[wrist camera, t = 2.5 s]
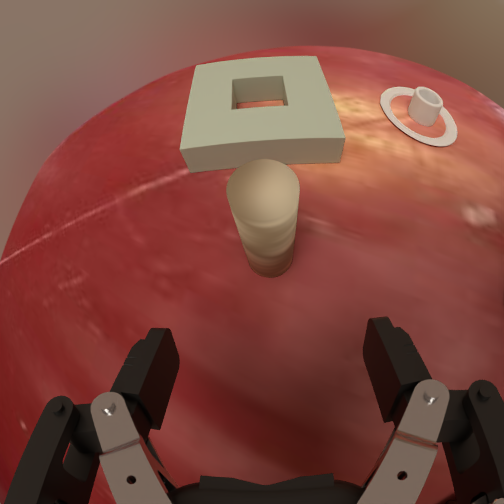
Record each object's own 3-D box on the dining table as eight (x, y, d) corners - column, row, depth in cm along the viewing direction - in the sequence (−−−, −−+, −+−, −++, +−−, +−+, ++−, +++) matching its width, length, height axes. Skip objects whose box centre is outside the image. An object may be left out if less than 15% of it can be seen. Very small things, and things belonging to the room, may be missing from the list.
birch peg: (290, 234, 26) (295, 157, 16) (294, 276, 25) (303, 217, 15) (247, 236, 26) (227, 162, 16) (248, 278, 25) (226, 222, 15)
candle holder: (362, 100, 33) (367, 76, 29) (412, 84, 34) (419, 64, 30) (425, 161, 28) (439, 138, 24) (467, 135, 30) (479, 116, 26)
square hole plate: (314, 78, 34) (316, 56, 31) (339, 162, 29) (345, 137, 25) (202, 86, 35) (196, 65, 32) (190, 172, 30) (179, 149, 26)
